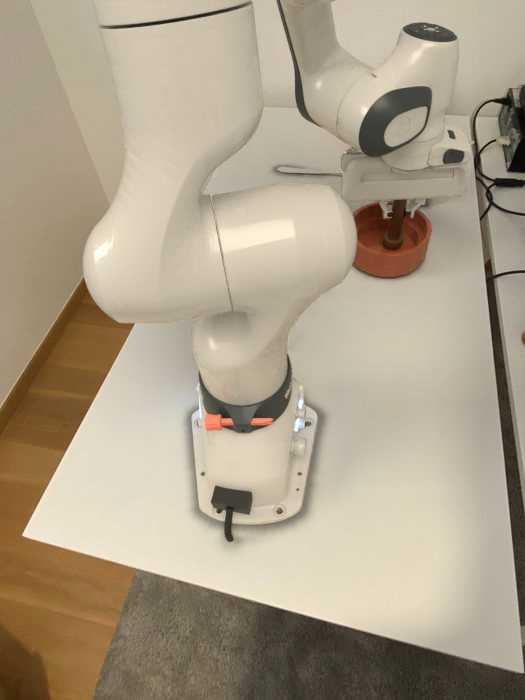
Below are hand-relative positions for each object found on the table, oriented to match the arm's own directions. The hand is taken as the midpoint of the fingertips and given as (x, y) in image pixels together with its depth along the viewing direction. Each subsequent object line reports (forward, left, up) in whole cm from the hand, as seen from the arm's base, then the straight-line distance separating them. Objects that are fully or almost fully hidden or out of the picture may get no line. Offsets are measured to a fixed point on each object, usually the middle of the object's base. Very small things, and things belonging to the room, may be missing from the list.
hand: (397, 216), depth 87 cm
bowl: (-1, +1, -8) cm, 8 cm away
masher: (0, 0, -6) cm, 6 cm away
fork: (+23, +10, -8) cm, 27 cm away
